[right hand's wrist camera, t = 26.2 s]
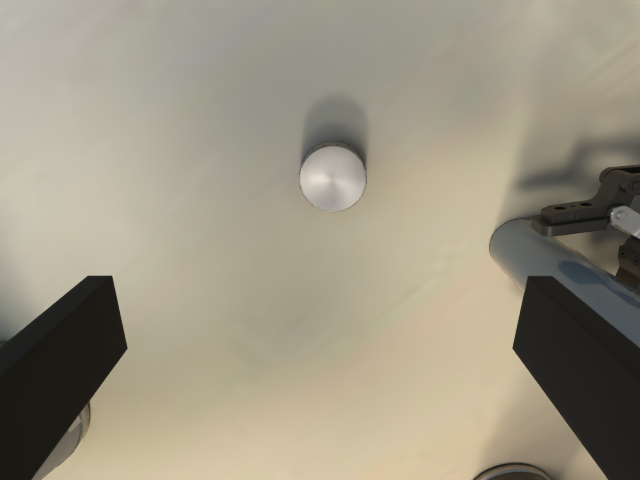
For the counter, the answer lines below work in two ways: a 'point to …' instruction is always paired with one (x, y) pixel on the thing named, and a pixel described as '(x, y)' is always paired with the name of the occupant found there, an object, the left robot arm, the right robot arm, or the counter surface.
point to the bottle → (566, 273)
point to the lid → (332, 176)
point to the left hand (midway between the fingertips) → (533, 284)
